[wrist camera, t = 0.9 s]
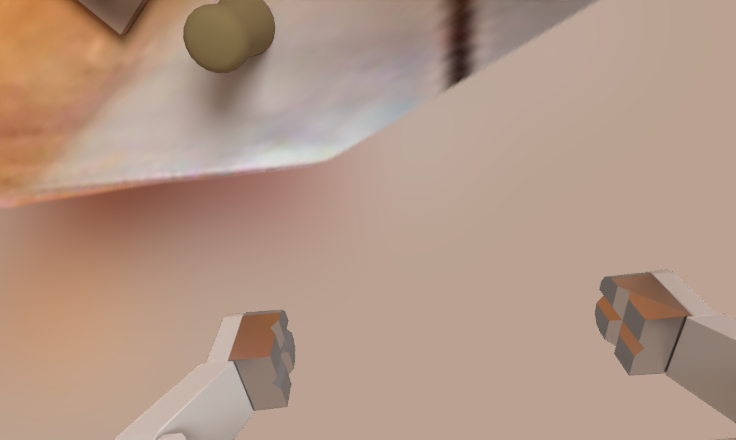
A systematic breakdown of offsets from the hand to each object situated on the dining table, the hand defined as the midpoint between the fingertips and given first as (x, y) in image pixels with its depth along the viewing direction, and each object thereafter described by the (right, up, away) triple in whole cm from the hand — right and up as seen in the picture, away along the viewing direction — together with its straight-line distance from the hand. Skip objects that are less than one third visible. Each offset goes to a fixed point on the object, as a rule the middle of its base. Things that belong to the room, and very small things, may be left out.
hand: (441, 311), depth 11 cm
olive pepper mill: (-14, +22, +32) cm, 41 cm away
